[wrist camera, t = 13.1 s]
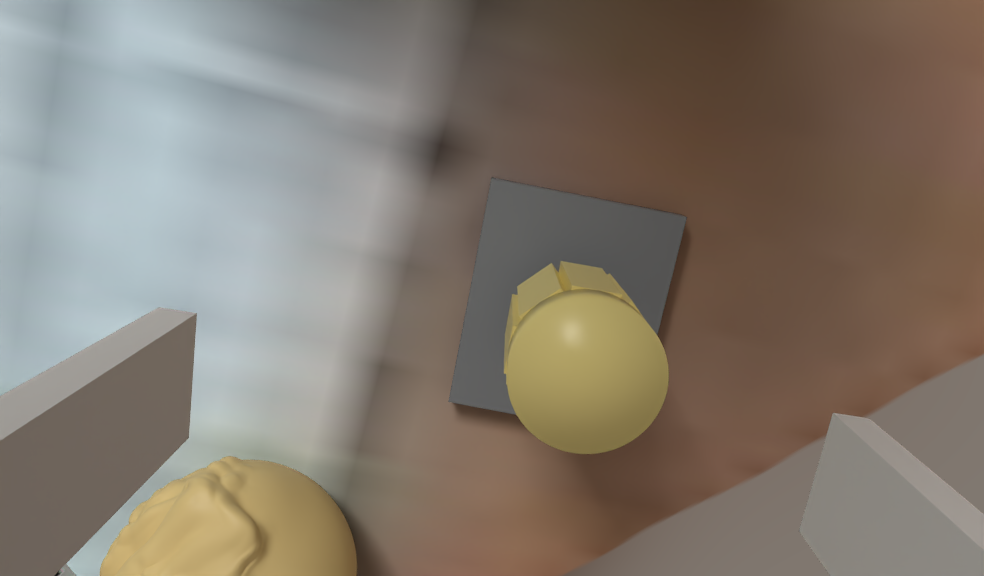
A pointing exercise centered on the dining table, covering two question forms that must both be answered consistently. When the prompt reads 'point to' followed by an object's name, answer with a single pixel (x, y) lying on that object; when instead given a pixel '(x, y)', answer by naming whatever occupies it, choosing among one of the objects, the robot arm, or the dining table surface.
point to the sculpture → (235, 527)
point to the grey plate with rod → (551, 239)
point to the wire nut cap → (582, 360)
